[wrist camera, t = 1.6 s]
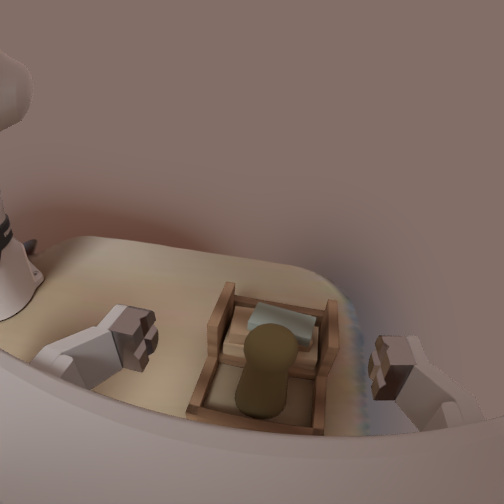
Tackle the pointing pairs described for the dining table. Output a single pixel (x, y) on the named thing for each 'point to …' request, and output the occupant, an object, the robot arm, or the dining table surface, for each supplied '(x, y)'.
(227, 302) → the rack
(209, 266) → the dining table surface
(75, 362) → the robot arm
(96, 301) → the dining table surface
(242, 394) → the cork
